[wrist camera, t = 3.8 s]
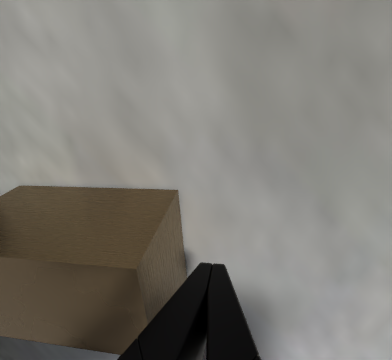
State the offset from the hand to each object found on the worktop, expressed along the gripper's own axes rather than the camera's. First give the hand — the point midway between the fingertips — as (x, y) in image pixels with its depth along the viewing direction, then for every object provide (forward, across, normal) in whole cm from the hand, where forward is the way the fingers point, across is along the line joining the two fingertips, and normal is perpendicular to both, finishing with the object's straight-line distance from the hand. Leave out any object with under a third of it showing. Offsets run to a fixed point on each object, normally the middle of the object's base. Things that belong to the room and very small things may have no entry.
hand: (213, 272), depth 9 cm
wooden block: (+2, +10, +2) cm, 10 cm away
